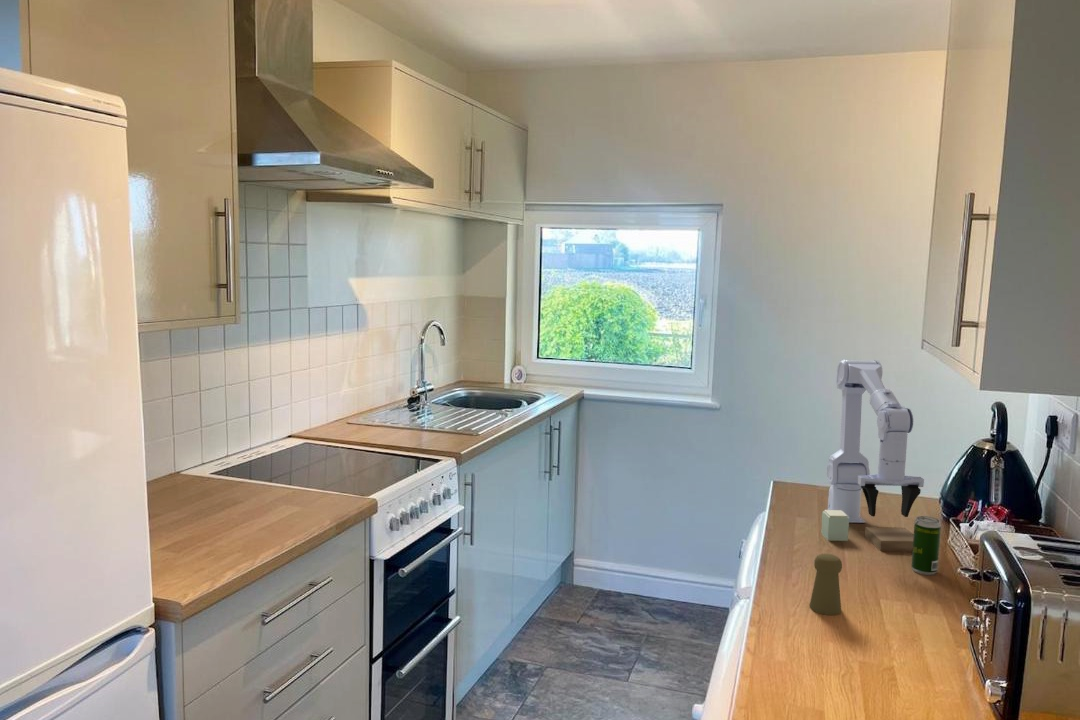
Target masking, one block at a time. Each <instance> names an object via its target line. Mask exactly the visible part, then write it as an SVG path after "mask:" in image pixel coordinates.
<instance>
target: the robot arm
mask: <svg viewBox="0 0 1080 720" xmlns="http://www.w3.org/2000/svg"><path fill="white" fill-rule="evenodd" d="M882 378H883V366H882V364H881V362H880V360H876V359H874V360H861V359H860V360H855V359H854V360H852V359H848V360H847V359H842V360H840V362H839V363H838V366H837V368H836V388H837V389H839V390H841V393H842V395H841V396H842V397H841V398H842V400H841V419H840V420H841V421H840V422H841V423H840V443H839V444H840V446H839V447H840V448H839V449H838V450H837V451H835V452H834V453H833V454H831V455H830V456H829V458H828V463H827V468H826V478H827V481H828V483H829V484H830V487H829V489H828V500H827V510H842V511H843V512H844V513H845V514H846V515H847V516H848V517H849V523H851V524H852V523H853V524H854V523H856V524H857V523H860V524H861V523H862V524H863V523H866V520H864V518H863V517H862V516H861V505H862V504H861V502H862V501H861V500H862V492H863V495H864V497H865V501H866V505H867V510H868V511H867V512H868V515H870V516H871V517H876V511H877V508H876V507H877V500H878V495H879V492H880V491H879V490H878V489H877V486H893V487H894V486H895V487H897V486H899V487H900V488H901V508H900V510H901V511H900V514H901V516H903V517H904V518H908V517H909V514H910V512H911V509H912V507H913V504H914V503H915V501H916V499H917V498H918V497H919V495H920V494H921V490H922V489H921V488H924V486H925V485H924V484H925V479H924V478H923V477H921V476H911V475H906V474H905V473H906V459H907V448H908V445H907V444H908V434H909V433H911V432H912V431H913V428H914V415H913V412H912V409H911V408H909V407H905V406H902V405H901V403H900V402H899V400H898V399H897V397H896V395H895V394H894V392H893V391H892V390H890V389H888V388H885V385H884V383H883V381H882ZM865 391H867V393H868V394H869V395H870V397H869V404H870V405H871V408H872V409H873V411H874V413H875V414H876V417H877V418H876V424H877V428H878V429H877V437H878V439H879V451H878V452H879V453H878V463H877V464H878V465H877V466H878V467H877V474H871V472H870V468H869V466H870V464H869V459H868V458H867V457H866V456H865V455H864V454H863V453H861V451H860V450H861V448H860V446H861V444H860V443H861V427H862V424H861V423H862V403H863V401H862V400H863V394H864V393H865Z"/></svg>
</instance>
